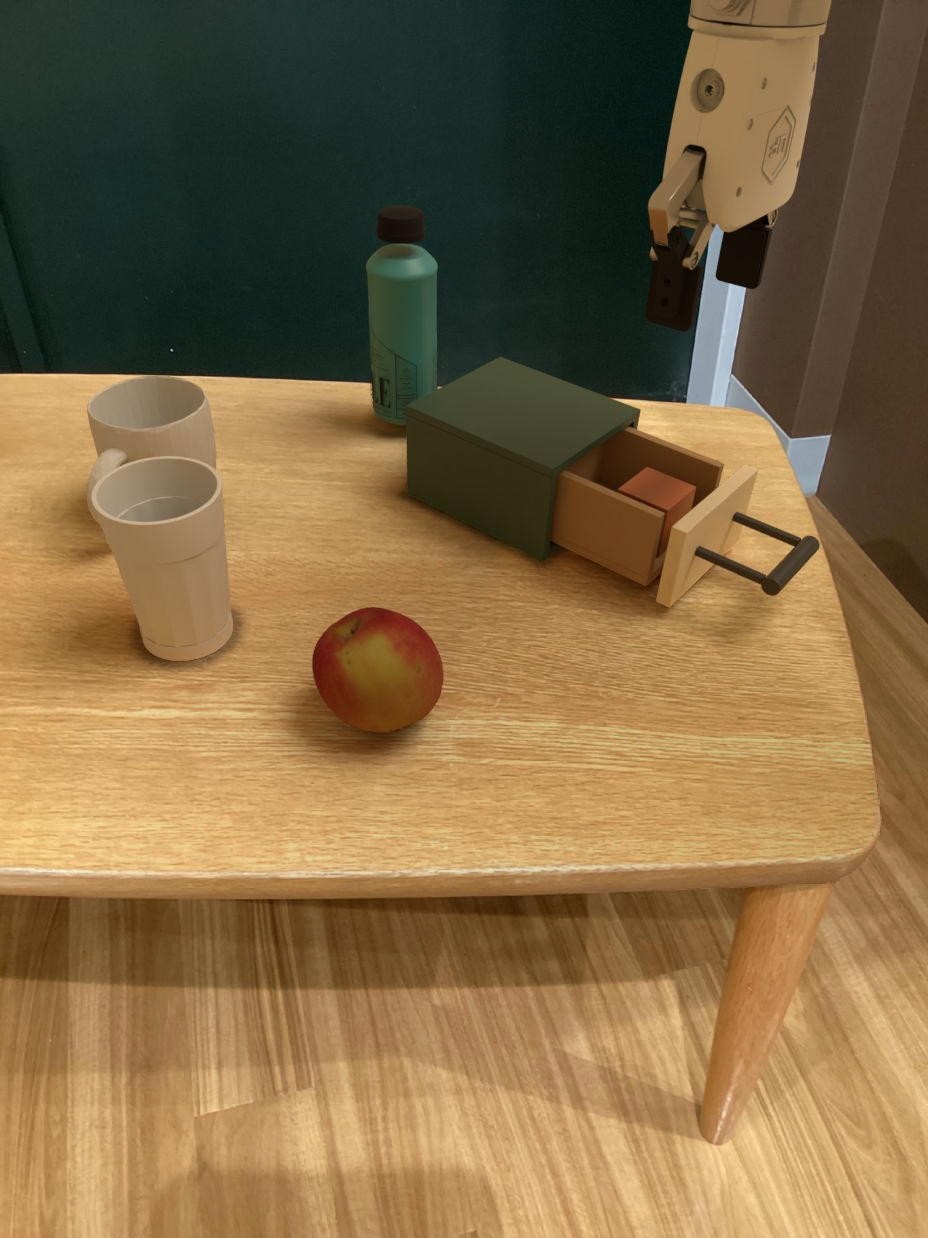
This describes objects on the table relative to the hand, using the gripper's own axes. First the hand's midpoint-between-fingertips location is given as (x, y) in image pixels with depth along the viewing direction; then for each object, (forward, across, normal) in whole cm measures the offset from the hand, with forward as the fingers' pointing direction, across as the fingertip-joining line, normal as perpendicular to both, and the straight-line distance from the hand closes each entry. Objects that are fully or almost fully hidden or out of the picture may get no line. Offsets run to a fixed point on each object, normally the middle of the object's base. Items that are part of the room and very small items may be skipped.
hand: (704, 303), depth 62 cm
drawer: (+20, -1, -1) cm, 20 cm away
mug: (+20, -24, +34) cm, 46 cm away
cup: (+20, -31, +21) cm, 42 cm away
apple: (+21, -28, +5) cm, 35 cm away
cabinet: (+20, -1, +14) cm, 24 cm away
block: (+19, -1, +1) cm, 19 cm away
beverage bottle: (+20, +2, +30) cm, 36 cm away
